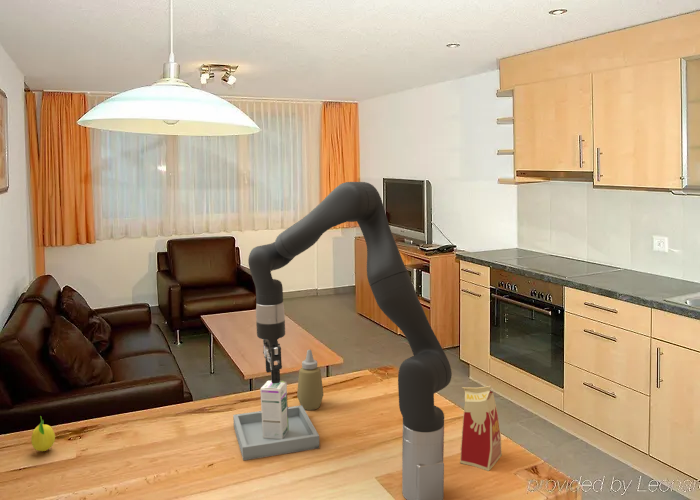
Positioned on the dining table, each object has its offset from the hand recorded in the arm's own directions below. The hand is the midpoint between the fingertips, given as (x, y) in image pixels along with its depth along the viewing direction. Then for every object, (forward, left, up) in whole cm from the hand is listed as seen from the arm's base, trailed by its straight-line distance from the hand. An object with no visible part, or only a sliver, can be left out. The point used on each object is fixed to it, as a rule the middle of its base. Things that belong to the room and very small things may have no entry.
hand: (272, 377), depth 162 cm
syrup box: (0, 0, -17) cm, 17 cm away
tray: (0, 0, -17) cm, 17 cm away
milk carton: (-28, -47, -18) cm, 57 cm away
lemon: (+11, +59, -18) cm, 63 cm away
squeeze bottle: (+16, -14, -18) cm, 28 cm away
